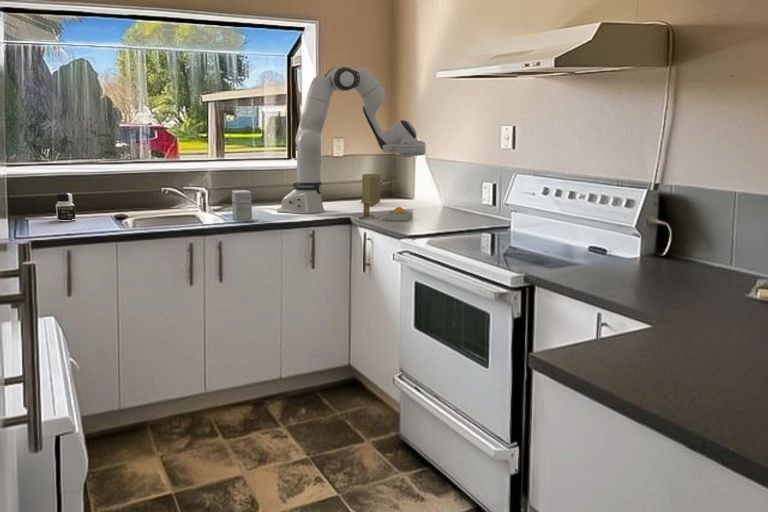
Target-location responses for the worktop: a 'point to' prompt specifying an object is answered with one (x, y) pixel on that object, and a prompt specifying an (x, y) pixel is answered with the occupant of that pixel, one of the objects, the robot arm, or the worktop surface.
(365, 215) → the tee
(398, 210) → the ball
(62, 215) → the medicine bottle
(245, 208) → the supplement box
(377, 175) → the khaki rectangular block
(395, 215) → the tray
